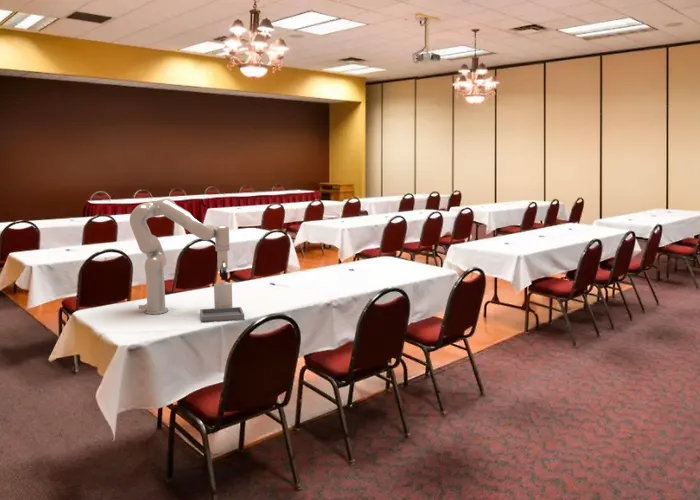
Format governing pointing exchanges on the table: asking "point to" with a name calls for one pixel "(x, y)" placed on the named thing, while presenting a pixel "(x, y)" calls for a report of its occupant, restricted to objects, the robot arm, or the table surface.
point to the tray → (221, 314)
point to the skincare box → (223, 295)
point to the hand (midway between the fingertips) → (223, 278)
